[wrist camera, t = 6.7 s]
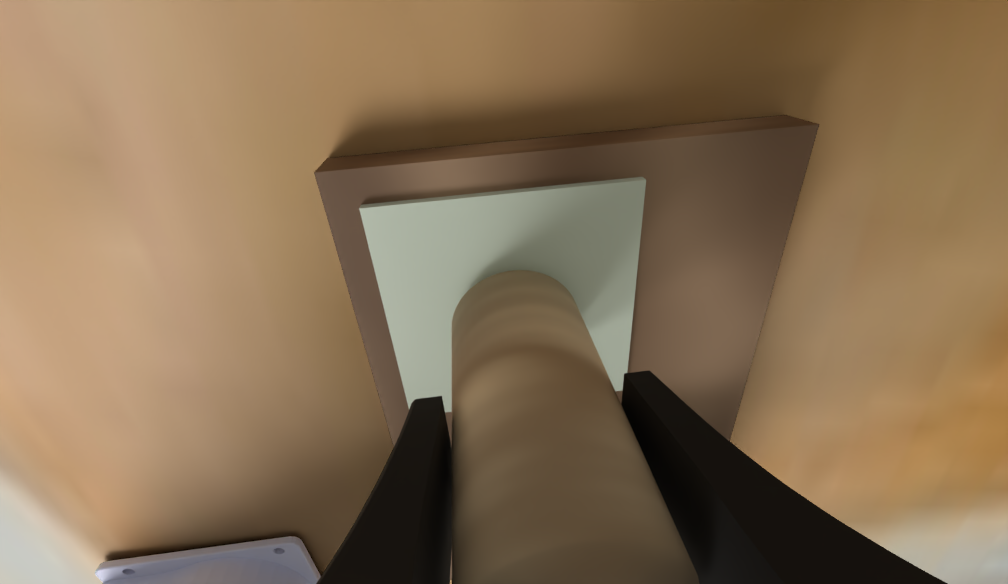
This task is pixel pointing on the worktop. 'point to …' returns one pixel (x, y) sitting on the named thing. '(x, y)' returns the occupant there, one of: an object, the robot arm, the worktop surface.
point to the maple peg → (547, 450)
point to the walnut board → (663, 244)
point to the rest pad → (504, 265)
